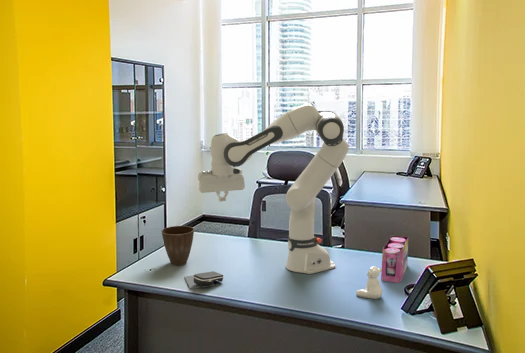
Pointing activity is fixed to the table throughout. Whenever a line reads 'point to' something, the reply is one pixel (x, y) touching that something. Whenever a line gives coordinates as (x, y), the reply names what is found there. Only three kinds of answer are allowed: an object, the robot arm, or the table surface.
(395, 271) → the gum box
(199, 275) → the battery charger
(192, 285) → the mat
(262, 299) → the table surface
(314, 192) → the robot arm
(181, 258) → the plant pot
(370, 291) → the white creature statuette
